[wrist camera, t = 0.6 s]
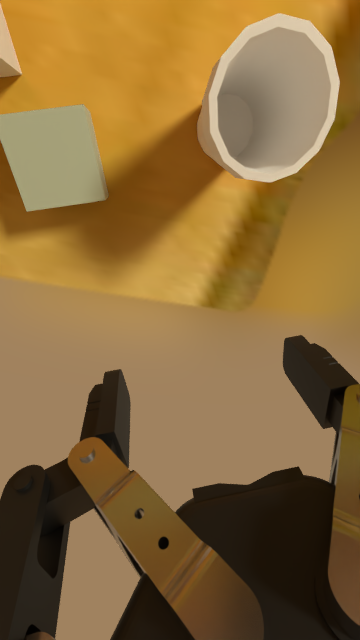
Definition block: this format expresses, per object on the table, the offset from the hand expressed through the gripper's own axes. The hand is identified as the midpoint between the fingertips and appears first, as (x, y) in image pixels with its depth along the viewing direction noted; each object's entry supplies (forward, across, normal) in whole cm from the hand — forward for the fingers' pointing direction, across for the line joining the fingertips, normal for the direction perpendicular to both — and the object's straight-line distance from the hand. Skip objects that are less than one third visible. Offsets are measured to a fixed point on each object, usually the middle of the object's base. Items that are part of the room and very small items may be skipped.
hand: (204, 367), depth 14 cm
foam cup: (+26, -9, -10) cm, 30 cm away
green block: (+26, +9, -10) cm, 30 cm away
